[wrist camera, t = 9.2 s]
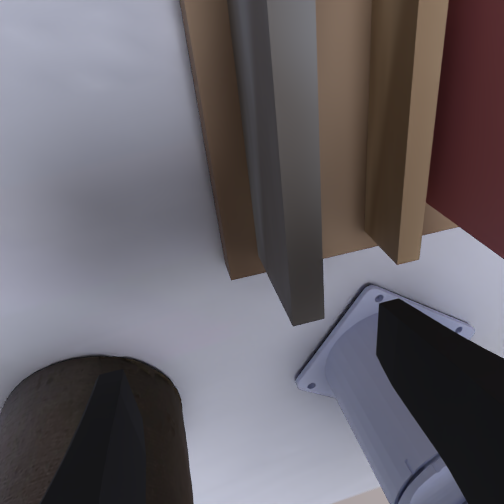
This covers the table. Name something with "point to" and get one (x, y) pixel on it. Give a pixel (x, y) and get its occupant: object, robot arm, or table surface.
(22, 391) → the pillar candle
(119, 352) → the table surface
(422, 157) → the book stand
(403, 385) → the robot arm
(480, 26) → the book
